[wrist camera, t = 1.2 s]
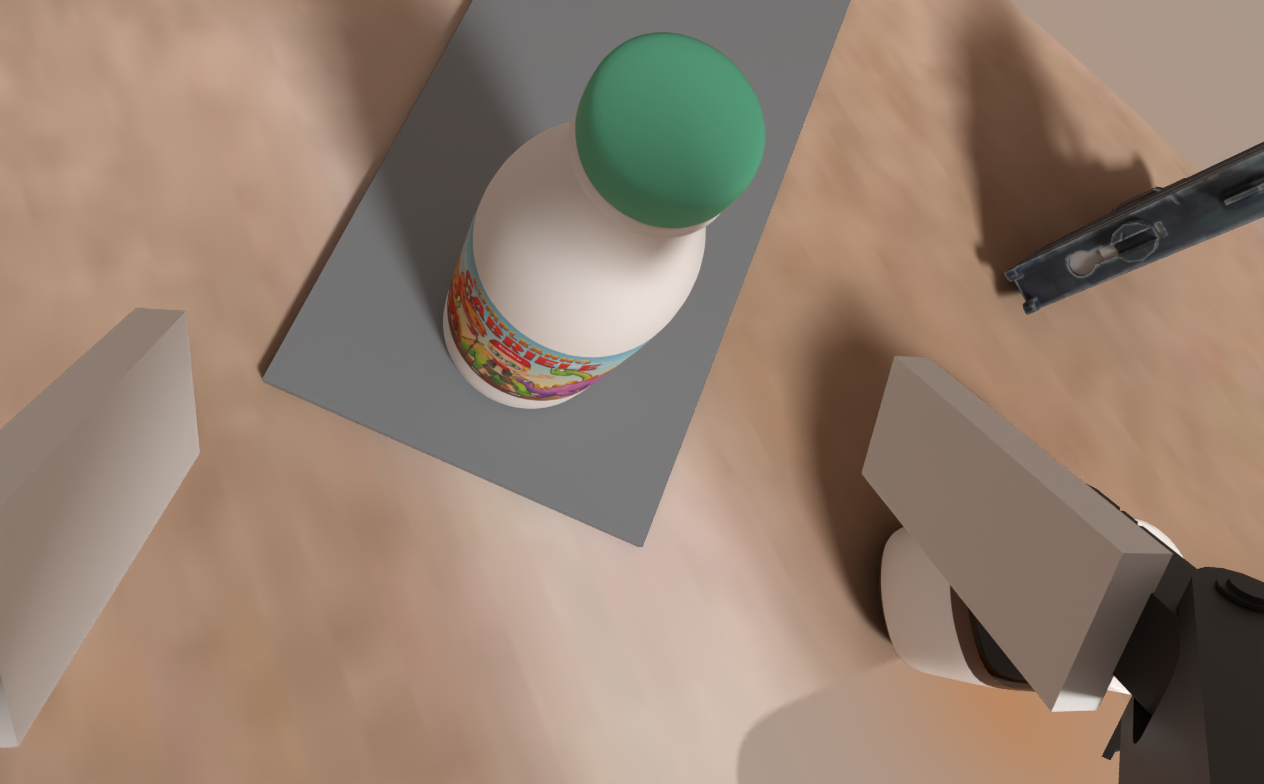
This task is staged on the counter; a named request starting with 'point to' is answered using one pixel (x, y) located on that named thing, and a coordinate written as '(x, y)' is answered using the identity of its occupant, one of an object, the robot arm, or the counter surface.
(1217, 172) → the gun
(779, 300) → the counter surface
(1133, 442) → the counter surface
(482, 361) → the milk bottle
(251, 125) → the counter surface
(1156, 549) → the robot arm
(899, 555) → the spread jar
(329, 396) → the rubber mat
